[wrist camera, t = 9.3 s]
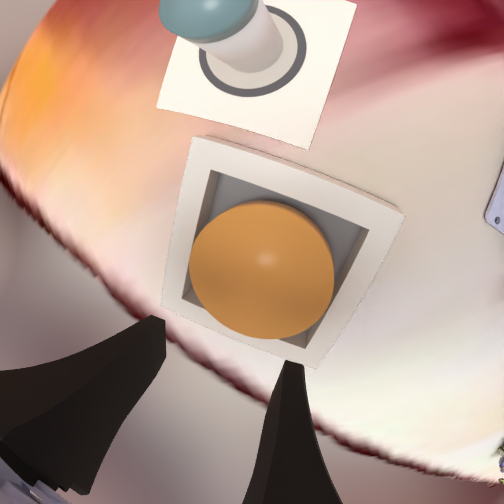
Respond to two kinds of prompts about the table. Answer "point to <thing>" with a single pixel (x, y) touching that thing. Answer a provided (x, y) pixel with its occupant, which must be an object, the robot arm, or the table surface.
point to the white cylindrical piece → (226, 30)
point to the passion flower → (501, 462)
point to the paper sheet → (266, 75)
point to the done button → (263, 270)
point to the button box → (294, 195)
